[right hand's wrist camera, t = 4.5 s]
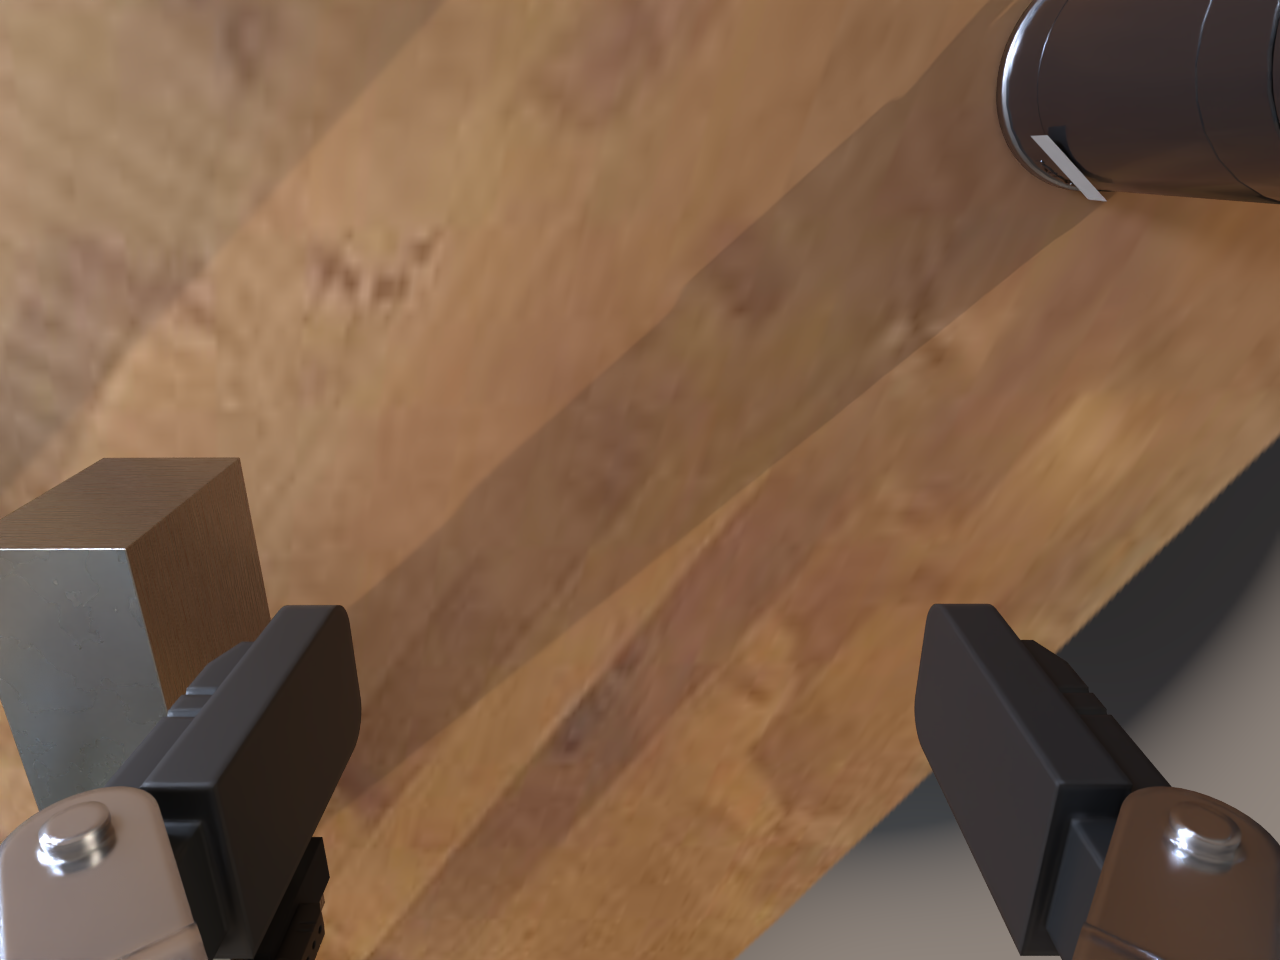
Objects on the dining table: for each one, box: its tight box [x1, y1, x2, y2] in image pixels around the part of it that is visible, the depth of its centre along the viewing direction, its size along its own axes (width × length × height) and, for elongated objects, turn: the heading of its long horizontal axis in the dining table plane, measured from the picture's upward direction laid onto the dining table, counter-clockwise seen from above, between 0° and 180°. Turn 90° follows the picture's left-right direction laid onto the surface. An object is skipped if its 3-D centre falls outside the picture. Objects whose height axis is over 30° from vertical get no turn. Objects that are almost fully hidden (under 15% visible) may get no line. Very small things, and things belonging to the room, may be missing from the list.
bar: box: [0, 458, 325, 960], centre depth 36 cm, size 25×6×8 cm, turn 0°
